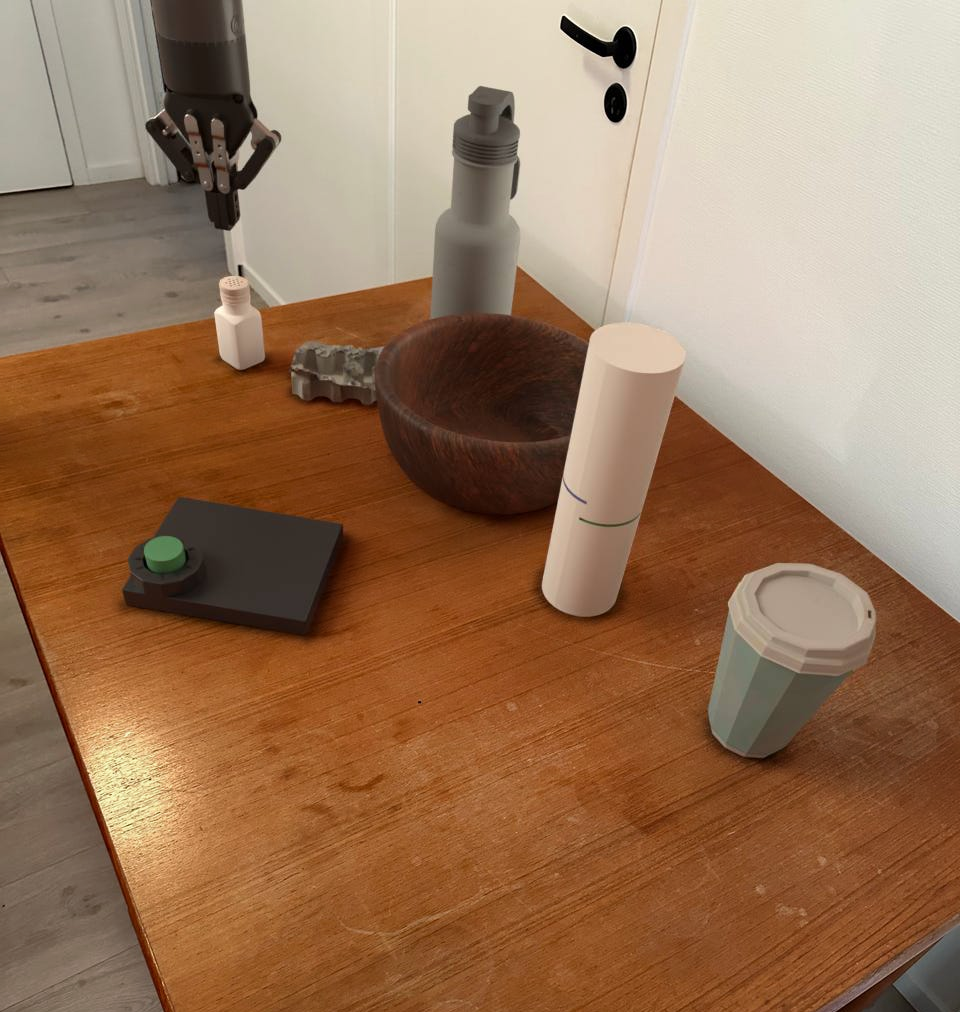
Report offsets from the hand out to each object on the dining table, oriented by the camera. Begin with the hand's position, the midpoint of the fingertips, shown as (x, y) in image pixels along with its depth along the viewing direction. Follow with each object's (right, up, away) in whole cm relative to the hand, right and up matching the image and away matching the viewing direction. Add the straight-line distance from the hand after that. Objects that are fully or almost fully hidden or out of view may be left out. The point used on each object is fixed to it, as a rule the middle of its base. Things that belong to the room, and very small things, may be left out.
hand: (225, 226), depth 91 cm
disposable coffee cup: (+48, -49, -15) cm, 70 cm away
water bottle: (+24, -5, +22) cm, 33 cm away
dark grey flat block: (+4, -35, -9) cm, 37 cm away
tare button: (-1, -35, -13) cm, 37 cm away
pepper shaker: (-2, -9, +15) cm, 18 cm away
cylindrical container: (+35, -37, -6) cm, 51 cm away
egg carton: (+9, -13, +13) cm, 20 cm away
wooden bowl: (+27, -22, +6) cm, 35 cm away
